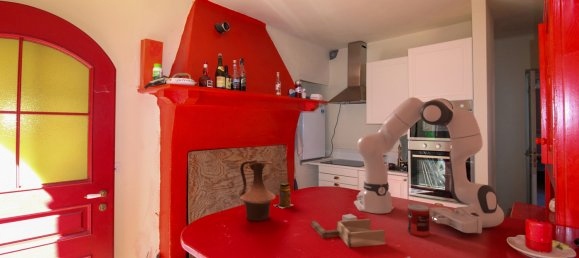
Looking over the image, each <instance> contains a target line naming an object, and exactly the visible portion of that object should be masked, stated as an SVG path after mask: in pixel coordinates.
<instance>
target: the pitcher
mask: <svg viewBox="0 0 579 258" xmlns="http://www.w3.org/2000/svg"><path fill="white" fill-rule="evenodd" d="M272 164H273V162H272V161H270V160H261V161H258V160H257V159H252V160H251V159H250V160H244V161H243V162H242V163H241V165H240V169H239V170H240V175H241V178H242V182H243V187H242V191H241V192H240V193H239V195H238V199H240V200H241V201H243V203H244V204H245V205H244V206H245V207H244V208H245V212H246V219H247V220H249V221H250V222H263V221H267V220H268V219H270V210H271V209H270V208H271V202H272V201H273V200H275V199H276V195H275V194H274V193H272V192H271V191H270V190H268V189H267V187H266V186H265V184H264V181H263V171H264V169H265V167H266V166H267V165H272ZM245 165H247V166H248V168H250V169H251V171H253V181H252V184H251V185H250V187H249V189H248V190H247V179H246V173H245V170H244V167H245Z"/></svg>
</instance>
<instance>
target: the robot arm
mask: <svg viewBox="0 0 579 258" xmlns="http://www.w3.org/2000/svg"><path fill="white" fill-rule="evenodd" d="M420 120H422V122H424V123H425V124H427V125H431V126H437V127H438V126H439V127H446V128H447V129H448V134H449V137H450V142H451V146H450V147H451V148H450V150H449V157H448V158H449V168H450V176H451V186H450V187H451V189H450V190H451V191H450V194H451V196H452V198H453V199H454V201H456V202H457V203H459V204H463V205H464V204H465V205H466V206H456V207H455V208H454V210H452V209H449V208H446V207H429V212H430V214H429V217H431V221H432V222H434V223H436V224H442V225H443V224H444V225H448V226H450V227H452V228H454V229H456V231H457V230H458V231H460V232H461V233H464V234H465V233H466V234H475V233H476V234H482V232H483V229H484V228H491V227H496V226H499V225H500V224H502V223H503V222H504V219H505V213H504V210H503V209H502V208H501V207H500V206H499V203H498V202H499V201H498V195H497V191H496V190H495V189H494V187H492V186H491V185H488V184H483V183H477V182H471V181H469V179H468V177H467V168H466V163H467V160H468V159H469V158H471V157H473V156H475V155H476V154H478V153H479V152H480V151H481V149H482V148H483V143H484V142H483V136H482V132H481V129H480V126H479V124H478V122H477V121H478V120H477V119H476V117H475V115H474V113H473V112H472V111H471V110H469V109H454V107H453V104H452V102H451V101H449V100H448V99H446V98H433V99H431V100H428V101H426V102H425V101H422V100H421V99H419V98H418V97H414V96H413V97H412V96H411V97H408V98H407V99H406V100H403V102H402V103H400V104H399V105H398V106H397V107H396V108H395V109H394V110H393V111H392V112H391V113H390V114H389V115H388V116H387V117H386V118H385V119H384V120H382V121H383V122H382V125H381V127H380V129H379V130H378V131H377V132H376V133H374V134H372V133H371V134H366V135H363V136H362V137H360V138H359V139H358V141H357V143H356V144H357V145H356V149H357V151H358V153H360V155H361V157H362V161H363V165H364V178H365V179H364V180H365V181H363V189H362V190H360V192H358V194H357V195H356V200H354V201H353V205H355V207H356V208H357V210H358V211H360V212H365V213H370V214H388V213H391V212H392V210H394V208H395V207H394V205H392V204H393V203H392V195H391V192H390V191H389V190H390V186H389V184H390V183H389V181H388V180H389V179H388V175H389V174H388V172H389V170H388V165H386V163H385V161H384V155H386V154H388V153H389V152H391V151H392V150H393V148H394V147H395V145H396V144H397V142H398V141H399V140H400V138H402V136H403V135H405V133H407V132H408V131H409V130H410V129H411V127H413V126H414V125H415V124H416V123H417V122H418V121H420ZM467 205H468V206H467Z"/></svg>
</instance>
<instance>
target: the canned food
mask: <svg viewBox="0 0 579 258" xmlns="http://www.w3.org/2000/svg"><path fill="white" fill-rule="evenodd" d="M407 231H408V233H409V234H410V235H411V236H414V237H418V238H427V237H429V236H430V207H429V206H428V205H425V204H420V203H410V204H408V205H407Z"/></svg>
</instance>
